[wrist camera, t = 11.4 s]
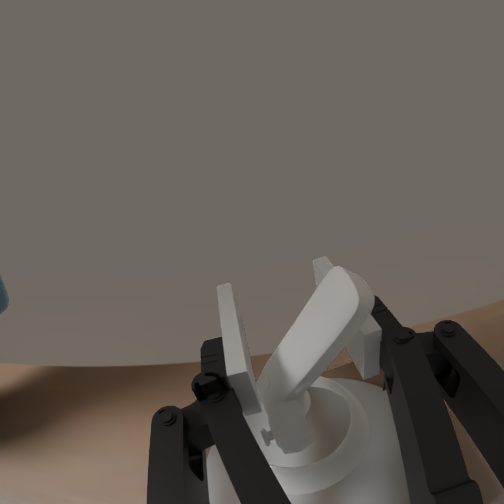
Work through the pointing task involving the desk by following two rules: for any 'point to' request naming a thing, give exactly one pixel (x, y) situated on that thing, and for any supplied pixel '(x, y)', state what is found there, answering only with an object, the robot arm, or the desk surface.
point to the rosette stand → (332, 446)
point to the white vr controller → (315, 381)
